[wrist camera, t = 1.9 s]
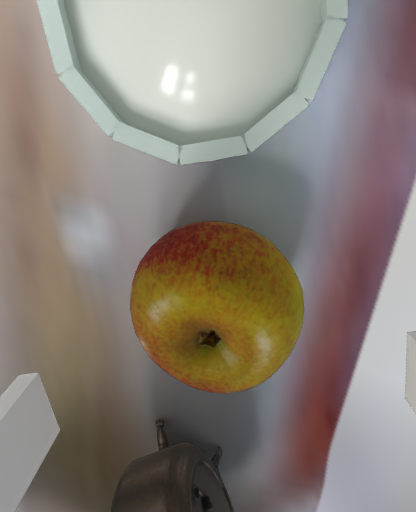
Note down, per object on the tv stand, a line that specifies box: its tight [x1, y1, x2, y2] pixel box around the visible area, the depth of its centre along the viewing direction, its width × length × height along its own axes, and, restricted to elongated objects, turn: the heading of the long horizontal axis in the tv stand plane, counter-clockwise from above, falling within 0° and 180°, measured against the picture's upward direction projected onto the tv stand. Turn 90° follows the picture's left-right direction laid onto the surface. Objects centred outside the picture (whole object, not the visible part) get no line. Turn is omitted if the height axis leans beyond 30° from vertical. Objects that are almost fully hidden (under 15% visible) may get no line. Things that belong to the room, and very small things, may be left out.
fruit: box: [130, 221, 304, 393], centre depth 19 cm, size 10×9×8 cm
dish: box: [37, 0, 348, 165], centre depth 17 cm, size 15×15×2 cm
